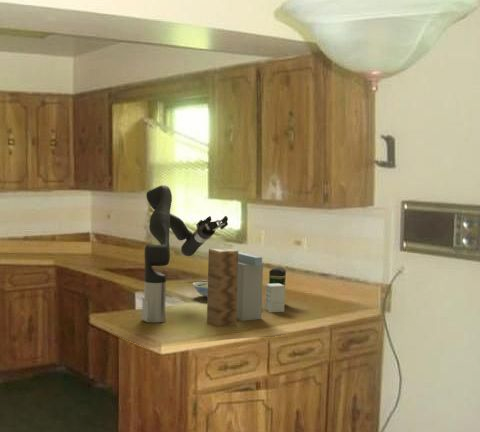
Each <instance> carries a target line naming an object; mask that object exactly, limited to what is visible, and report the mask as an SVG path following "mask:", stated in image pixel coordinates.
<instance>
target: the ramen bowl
mask: <svg viewBox="0 0 480 432" xmlns="http://www.w3.org/2000/svg"><path fill="white" fill-rule="evenodd" d="M187 283H191V281H189V282H188V281H187ZM192 286H193V287H194V289H195V291H196V292H197V293H198V294H199V295H201V296H203V297H206V298H207V299H208V279H207V280H198V281H197V280H196V281H193V282H192Z"/></svg>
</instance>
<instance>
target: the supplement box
mask: <svg viewBox="0 0 480 432" xmlns="http://www.w3.org/2000/svg"><path fill="white" fill-rule="evenodd" d="M264 295H265V297H264V299H265V300H264V310H266V311H267V312H269V313H284V312H285V301H286V300H285V299H286V285H285V286H284V285H282V284H280V283H276V284H269V283H265V293H264Z"/></svg>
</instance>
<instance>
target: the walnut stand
mask: <svg viewBox="0 0 480 432" xmlns="http://www.w3.org/2000/svg"><path fill="white" fill-rule="evenodd" d="M238 252H239V250H236V249H231V248H223V247H222V248H208V260H207V261H208V268H207V269H208V270H207V280H208V298H207V303H206V304H207V305H206V306H207V307H206V308H207V309H206V323H207V324H208V323H209V324H211V325H213V326H215V327H226V326H227V327H228V326H237V319H236V315H237V279H238Z"/></svg>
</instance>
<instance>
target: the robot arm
mask: <svg viewBox="0 0 480 432" xmlns="http://www.w3.org/2000/svg"><path fill="white" fill-rule="evenodd" d="M146 199H147V202H148V204H149V206H150V207H151V208H152V209H153V212H152V213H151V216H150V218H149V227H148V228H149V233H151V235H152V236H153V238H154V239H156V240H157V241H158V243H159V244H146V246H145V247H144V295H143V298H142V309H141V310H142V311H141V314H142V315H141V320H142V321H144V322H146V323H154V324H155V323H163V322H166V295H167V293H166V292H167V291H166V288H167V277H166V276H167V275H166V274H164V273H161V272H158V271H157V270H155V269H154V268H153V267H166V266H167V265H169V263H170V259H171V249H170V230H171V232H172V233H173V235H174V236H175V238H176V239H177V240H178V241H184V240H185V241H184V242H183V244H182V245H181V247H180V250H181V253H182V254H183V255H184V256H185V257H192V256H194V255H195V253H196V252H197V251H198V250H199V248H200V247H201V246H202V245H204V244H205V243H206V242H207V241H209V240H210V238H211V237H212V236H214V235H215V232H216V230H218V229H220V230H224V229H225V228H226V227H227V226H228V225H229V224H228V220H229V219H228V216H227V215H225V216H224V217H223V218H221V219H220V220H219V219H217V220H215V221H212V216H210V215H209V216H208V217H206V218H205V219H203V220H202V219H200V220H198V222H197V224H196V229H195V231H193V233H192V232H191V231H190V230H189V228H188V227H187V225H186V223H184V221H183V220H182V219H181V218H180V217H178V216H177V215H174V214H172V213H171V207H172V202H173V201H172V200H173V195H172V191H171V188H170V187H169V186H168V185H166V184H160V185H158V186H156V187H154V188H152V189H150V190H148V191H147V192H146Z"/></svg>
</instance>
